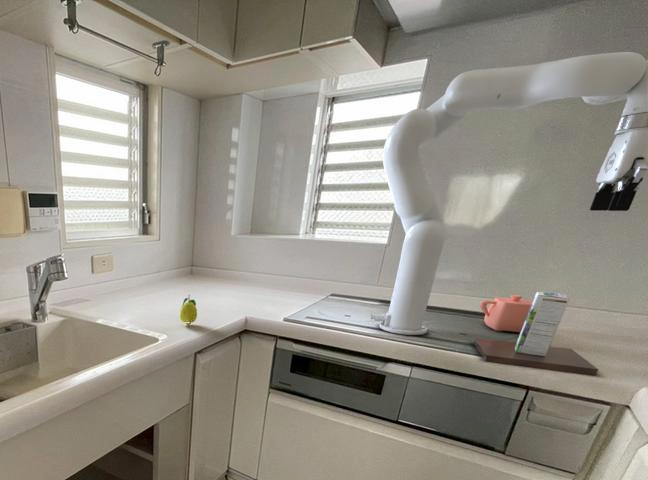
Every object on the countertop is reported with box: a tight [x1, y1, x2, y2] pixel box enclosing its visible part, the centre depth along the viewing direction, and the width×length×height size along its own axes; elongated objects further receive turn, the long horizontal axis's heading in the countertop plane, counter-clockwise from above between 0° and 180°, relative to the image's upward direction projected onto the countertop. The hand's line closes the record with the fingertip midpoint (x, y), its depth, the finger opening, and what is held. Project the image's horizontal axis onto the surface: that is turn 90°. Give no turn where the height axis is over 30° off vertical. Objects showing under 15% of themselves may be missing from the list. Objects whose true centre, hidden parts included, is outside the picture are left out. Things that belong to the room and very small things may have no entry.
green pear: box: [179, 294, 198, 326], centre depth 129 cm, size 7×6×10 cm
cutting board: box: [473, 337, 599, 376], centre depth 101 cm, size 20×16×2 cm
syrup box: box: [515, 291, 570, 356], centre depth 98 cm, size 6×6×14 cm
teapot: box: [479, 294, 533, 334], centre depth 123 cm, size 12×18×10 cm, turn 66°
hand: (607, 210), depth 93 cm, fingers open, 9 cm apart
